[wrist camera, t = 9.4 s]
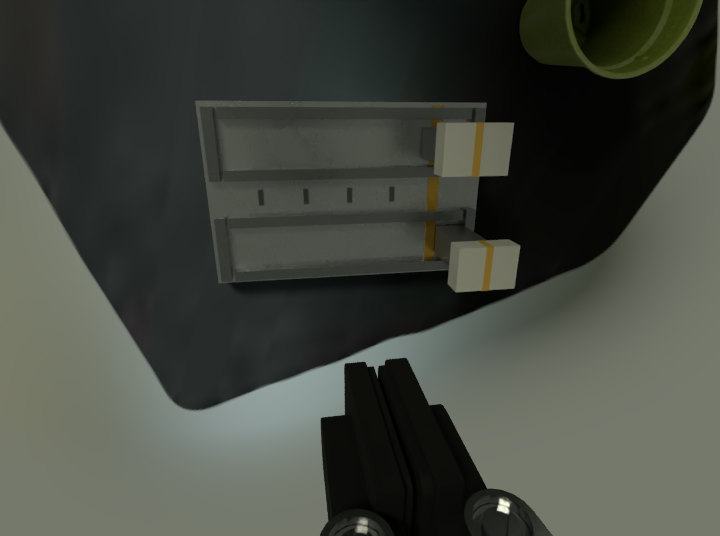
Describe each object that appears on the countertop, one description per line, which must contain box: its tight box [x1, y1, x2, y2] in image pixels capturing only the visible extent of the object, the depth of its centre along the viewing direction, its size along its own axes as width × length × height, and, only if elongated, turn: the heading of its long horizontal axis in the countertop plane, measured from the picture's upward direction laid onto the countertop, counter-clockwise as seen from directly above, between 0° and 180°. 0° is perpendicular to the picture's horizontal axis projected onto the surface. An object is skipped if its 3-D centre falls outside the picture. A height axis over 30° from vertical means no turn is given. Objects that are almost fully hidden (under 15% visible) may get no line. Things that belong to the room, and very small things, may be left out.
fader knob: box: [434, 225, 520, 292], centre depth 32 cm, size 3×4×8 cm
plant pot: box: [519, 0, 703, 79], centre depth 29 cm, size 9×9×9 cm
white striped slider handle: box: [422, 122, 514, 177], centre depth 29 cm, size 3×4×8 cm
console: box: [195, 101, 487, 283], centre depth 34 cm, size 14×22×3 cm, turn 90°
